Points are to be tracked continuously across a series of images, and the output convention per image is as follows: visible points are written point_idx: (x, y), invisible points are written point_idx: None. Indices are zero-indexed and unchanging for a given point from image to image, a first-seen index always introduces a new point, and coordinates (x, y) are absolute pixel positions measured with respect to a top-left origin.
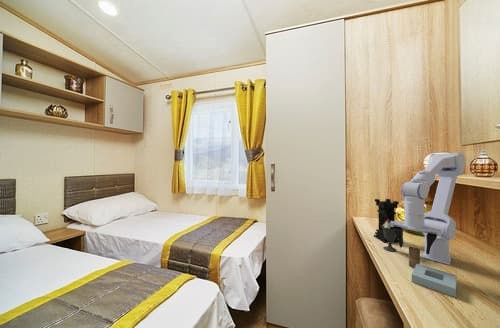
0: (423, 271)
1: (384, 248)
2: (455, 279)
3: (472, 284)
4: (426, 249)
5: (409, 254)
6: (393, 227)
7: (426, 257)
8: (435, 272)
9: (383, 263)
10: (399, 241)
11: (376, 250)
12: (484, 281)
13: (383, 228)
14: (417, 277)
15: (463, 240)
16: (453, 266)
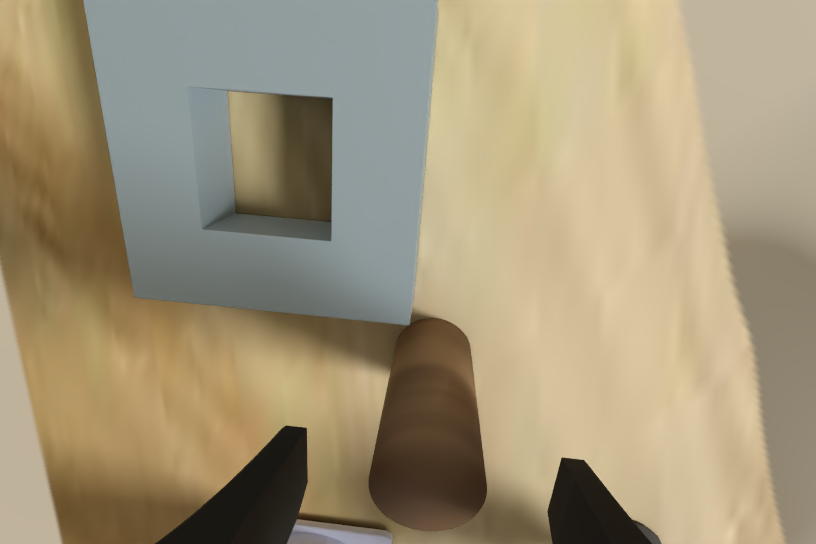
0: (344, 175)
1: (656, 541)
2: (122, 199)
3: (108, 318)
4: (280, 465)
5: (473, 405)
6: None
7: (366, 539)
8: (261, 235)
9: (677, 242)
10: (627, 526)
11: (724, 476)
12: (74, 407)
13: None
14: None
15: None
16: None
